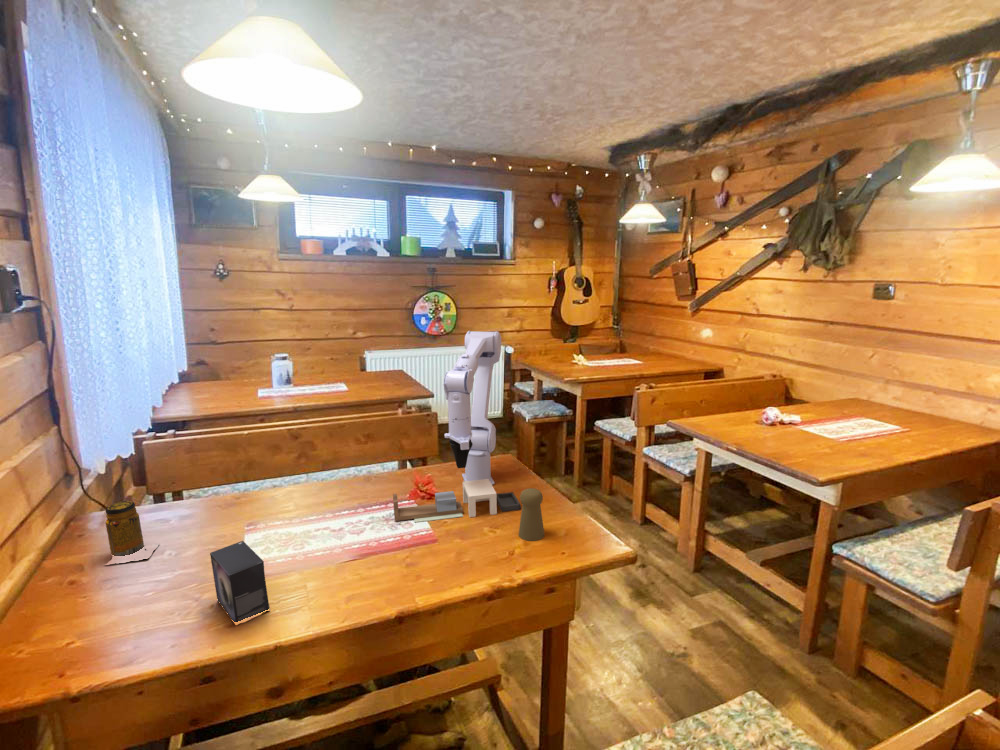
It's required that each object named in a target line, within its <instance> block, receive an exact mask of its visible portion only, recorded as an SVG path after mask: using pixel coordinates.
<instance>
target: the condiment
mask: <svg viewBox="0 0 1000 750" xmlns="http://www.w3.org/2000/svg"><path fill="white" fill-rule="evenodd" d="M105 513H106V521H105V527H106V528H105V529H106V532H107V540H108V545H109V550H110V555H111V554H112V555H114V556H125V555H130V554H133V553H135V552H137V551H139V550H140V549H142V548H143V547H144V546H145V545H144V537H143V531H142V527H141V521H140V514H139V513H138V512H137V508H136V503H135V502H134V501H131V500H124V501H123V500H122V501H118V502H115V503H113V504H110V505H109V506H107V507H106V508H105Z"/></svg>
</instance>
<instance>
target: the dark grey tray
mask: <svg viewBox="0 0 1000 750" xmlns="http://www.w3.org/2000/svg"><path fill="white" fill-rule="evenodd" d="M496 495H497V505H498V506H497V507H500V508H499V509H500V511H501V513H504V512H505V513H506V512H514V511H522V505H521V504H522V503H521V502H520V501H519V499H518V498H517V496H516V495H515V493H514V492H513V491H510V492H509V491H508V492H502V493H501V492H500V493H496Z"/></svg>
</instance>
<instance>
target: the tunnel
mask: <svg viewBox="0 0 1000 750" xmlns="http://www.w3.org/2000/svg"><path fill="white" fill-rule="evenodd" d="M496 494H497V491H496V490H495V488H494V487H493V485H492V484H491V483H490V481H489V479H483V480H473V481H464V480H463V481H462V499H463V500H462V502H463V504H468V507H467V508H468V517H469V518H476V516H477V511H476V509H477V508H476V503H477V502H485V501H486V502H487V501H489V515H490V516H494V515H497V514H498V511H497V510H498V509H497V507H498V506H497V505H498V504H497V495H496Z"/></svg>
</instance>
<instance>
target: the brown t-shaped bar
mask: <svg viewBox="0 0 1000 750" xmlns="http://www.w3.org/2000/svg"><path fill="white" fill-rule="evenodd" d="M398 499H399V498H398V494H397V493H392V501H393V516H394V517H393V518H394V521H395V522H398V521H405V520H412V519H413V520H414V519H415V518H423V517H432V516H440V515H448V514H457V513H462V514H463V513H464V508H463V505H462V504H461V501H460V500H457V497H456V495H455V492H454V490H453V491H452V490H451V491H441V492H435V493H434V499H435V500H434V502H435V503H432V504H422V505H415V506H406V507H399V503H398V502H399V500H398Z"/></svg>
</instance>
